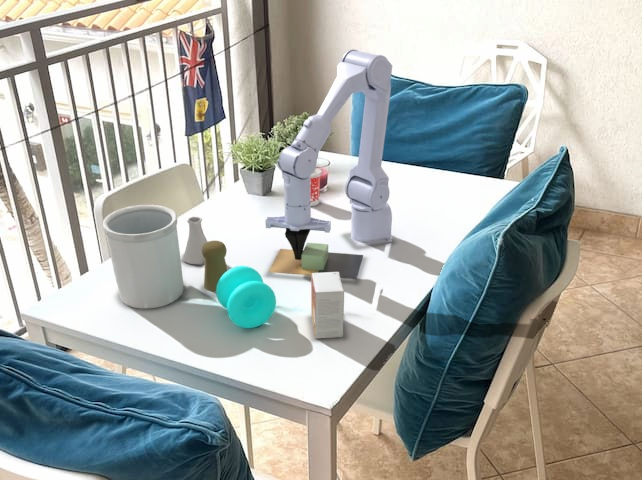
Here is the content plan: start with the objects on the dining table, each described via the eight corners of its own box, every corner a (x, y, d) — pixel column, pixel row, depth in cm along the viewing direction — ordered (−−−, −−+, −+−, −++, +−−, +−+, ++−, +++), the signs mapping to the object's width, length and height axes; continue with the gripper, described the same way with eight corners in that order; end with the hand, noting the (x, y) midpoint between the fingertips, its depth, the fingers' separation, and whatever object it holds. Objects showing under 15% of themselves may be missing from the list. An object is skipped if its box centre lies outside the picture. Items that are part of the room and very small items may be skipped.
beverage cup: (308, 196, 197) (307, 147, 189) (326, 201, 194) (326, 152, 186) (295, 203, 192) (294, 154, 185) (313, 208, 189) (312, 158, 182)
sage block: (301, 268, 158) (301, 254, 156) (307, 256, 163) (306, 242, 161) (323, 270, 157) (323, 256, 155) (328, 257, 162) (328, 244, 160)
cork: (226, 297, 150) (222, 250, 144) (200, 294, 151) (194, 248, 145) (235, 283, 155) (231, 238, 149) (209, 281, 156) (204, 236, 150)
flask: (219, 255, 167) (216, 216, 161) (203, 267, 161) (199, 228, 156) (194, 249, 169) (189, 211, 164) (177, 262, 164) (172, 222, 158)
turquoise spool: (231, 335, 137) (227, 291, 131) (216, 311, 144) (212, 268, 139) (279, 324, 140) (277, 280, 135) (261, 301, 148) (259, 259, 142)
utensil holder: (156, 317, 143) (144, 239, 133) (101, 300, 149) (86, 224, 139) (199, 286, 154) (191, 212, 144) (147, 271, 160) (136, 199, 150)
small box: (311, 318, 142) (310, 272, 136) (338, 316, 142) (339, 270, 137) (314, 339, 135) (314, 292, 130) (343, 337, 136) (344, 290, 130)
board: (268, 275, 157) (268, 271, 157) (280, 252, 167) (280, 248, 167) (356, 283, 154) (356, 279, 154) (363, 258, 164) (363, 254, 163)
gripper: (260, 207, 151) (263, 263, 158) (327, 211, 148) (326, 268, 156) (268, 194, 157) (271, 249, 164) (332, 199, 154) (332, 254, 162)
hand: (298, 257), depth 160 cm, fingers closed
